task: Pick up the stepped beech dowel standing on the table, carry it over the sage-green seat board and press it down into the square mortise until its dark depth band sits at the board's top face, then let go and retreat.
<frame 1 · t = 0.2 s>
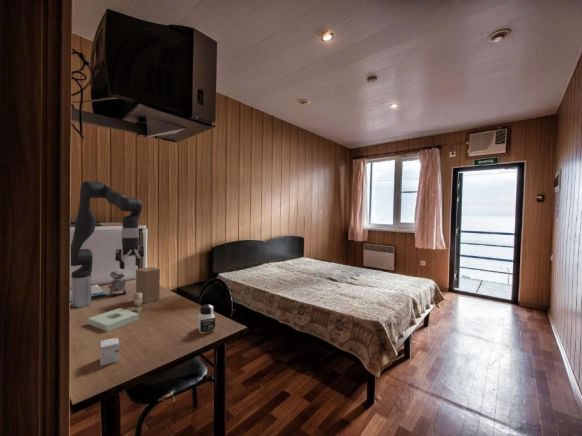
hand: (130, 267, 139), 28 cm above the table, fingers open, 8 cm apart
peg: (138, 310, 153), on the table
medicine bottle: (206, 329, 133), on the table
seat board: (114, 321, 138), on the table
wooden block: (147, 300, 170), on the table
skincare box: (109, 360, 105), on the table
figurine: (117, 294, 180), on the table
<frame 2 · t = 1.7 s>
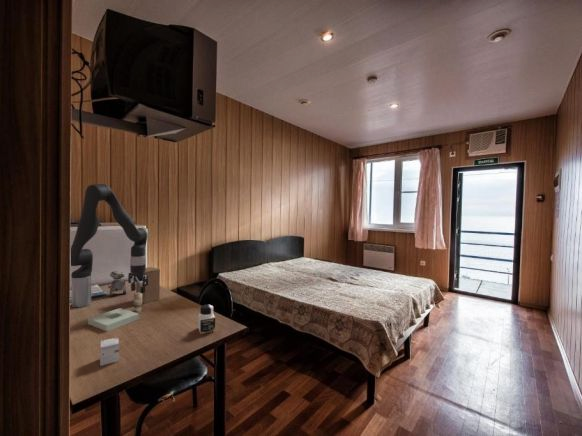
hand: (138, 291, 152), 11 cm above the table, fingers open, 8 cm apart
nothing on the table moved.
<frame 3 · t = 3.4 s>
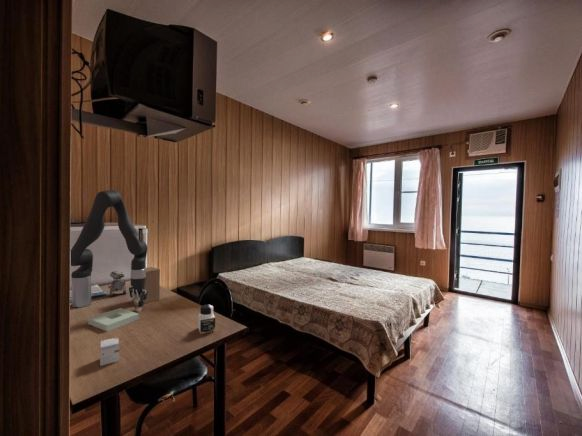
hand: (138, 306, 153), 3 cm above the table, fingers closed on peg, 4 cm apart
peg: (138, 310, 153), on the table, touching gripper
everything else where it was.
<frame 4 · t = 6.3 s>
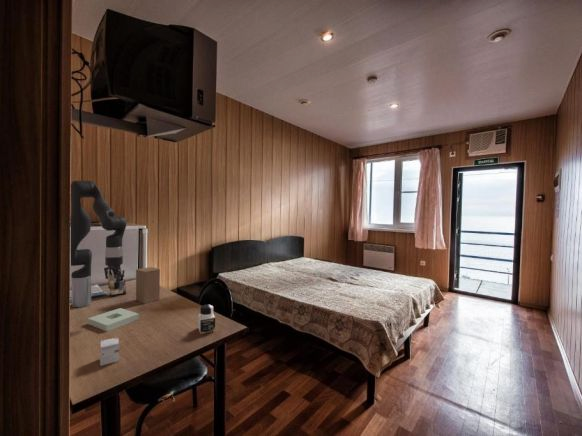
hand: (114, 288, 138), 18 cm above the table, fingers closed on peg, 4 cm apart
peg: (114, 293, 138), point 15 cm above the table, touching gripper
everything else where it was.
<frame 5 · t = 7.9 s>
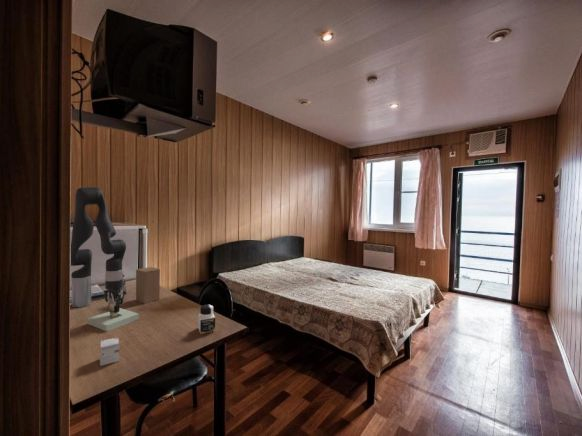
hand: (113, 311, 138), 6 cm above the table, fingers closed on peg, 4 cm apart
peg: (113, 316, 138), point 3 cm above the table, touching gripper
everything else where it was.
when the fingers open (4 cm above the table, at t = 9.3 s): peg stays where it is, resting in seat board.
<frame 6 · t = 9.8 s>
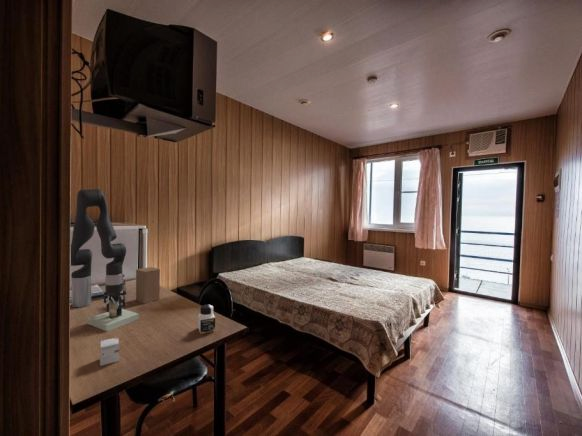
hand: (114, 313, 138), 4 cm above the table, fingers open, 8 cm apart
peg: (113, 321, 138), resting in seat board
everything else where it was.
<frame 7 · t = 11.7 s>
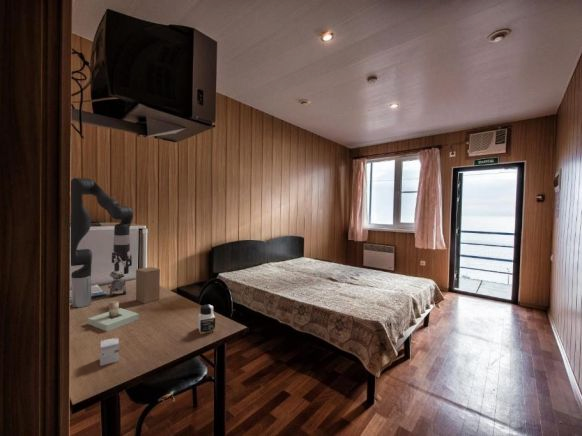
hand: (121, 272, 146), 24 cm above the table, fingers open, 8 cm apart
nothing on the table moved.
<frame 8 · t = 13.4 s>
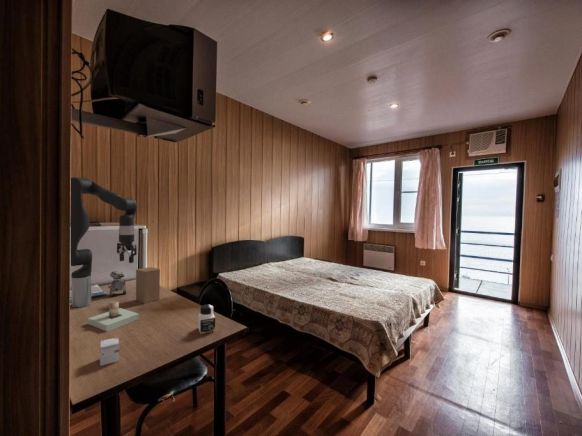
hand: (126, 261, 152), 28 cm above the table, fingers open, 8 cm apart
nothing on the table moved.
at the end: peg 0.1 cm off-centre on the seat board, point 0.0 cm above the seat board's base; peg tilted 0°; the gripper is holding nothing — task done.
